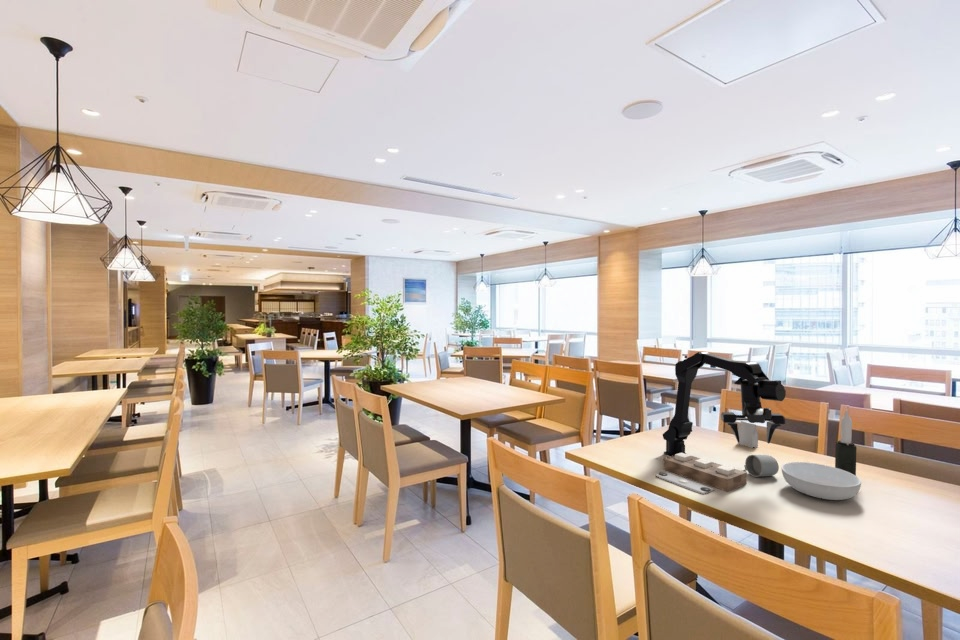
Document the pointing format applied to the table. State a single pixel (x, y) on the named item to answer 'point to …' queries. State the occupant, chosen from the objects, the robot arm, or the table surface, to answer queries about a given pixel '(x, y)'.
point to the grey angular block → (748, 434)
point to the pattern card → (684, 482)
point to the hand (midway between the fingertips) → (753, 442)
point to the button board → (705, 473)
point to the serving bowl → (821, 480)
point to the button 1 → (683, 457)
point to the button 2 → (725, 470)
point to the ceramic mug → (761, 465)
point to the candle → (846, 447)
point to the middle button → (703, 463)
